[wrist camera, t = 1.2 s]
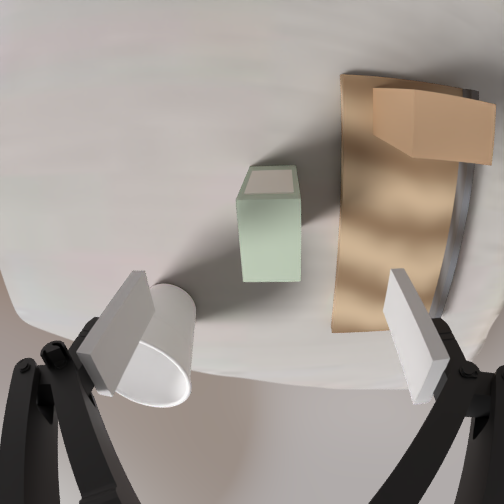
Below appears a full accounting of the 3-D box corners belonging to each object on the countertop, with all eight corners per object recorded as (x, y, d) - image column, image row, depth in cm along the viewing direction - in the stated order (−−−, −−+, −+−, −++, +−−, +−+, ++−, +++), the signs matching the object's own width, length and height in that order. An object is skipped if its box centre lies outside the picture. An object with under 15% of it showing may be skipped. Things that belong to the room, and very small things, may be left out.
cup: (223, 284, 34) (201, 361, 24) (203, 345, 39) (182, 418, 29) (135, 254, 33) (87, 319, 24) (128, 319, 38) (92, 385, 28)
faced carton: (372, 87, 22) (414, 89, 15) (438, 95, 22) (496, 104, 14) (373, 134, 24) (412, 157, 16) (436, 139, 24) (492, 165, 16)
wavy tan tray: (340, 74, 23) (346, 73, 21) (464, 89, 22) (479, 91, 20) (331, 325, 36) (333, 342, 33) (427, 320, 34) (435, 336, 32)
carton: (254, 228, 31) (242, 281, 23) (249, 165, 28) (235, 198, 20) (296, 228, 30) (300, 281, 22) (295, 164, 27) (300, 197, 20)
